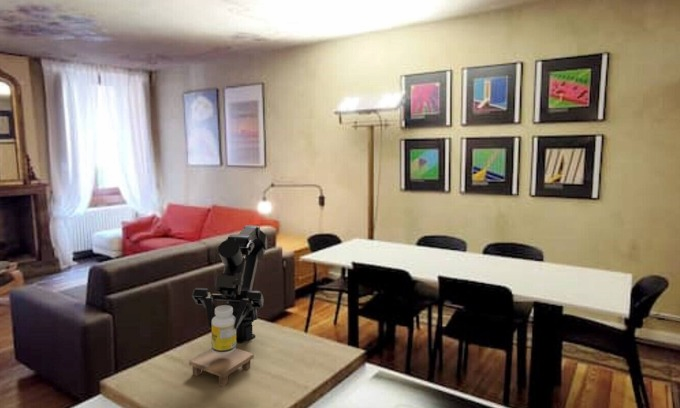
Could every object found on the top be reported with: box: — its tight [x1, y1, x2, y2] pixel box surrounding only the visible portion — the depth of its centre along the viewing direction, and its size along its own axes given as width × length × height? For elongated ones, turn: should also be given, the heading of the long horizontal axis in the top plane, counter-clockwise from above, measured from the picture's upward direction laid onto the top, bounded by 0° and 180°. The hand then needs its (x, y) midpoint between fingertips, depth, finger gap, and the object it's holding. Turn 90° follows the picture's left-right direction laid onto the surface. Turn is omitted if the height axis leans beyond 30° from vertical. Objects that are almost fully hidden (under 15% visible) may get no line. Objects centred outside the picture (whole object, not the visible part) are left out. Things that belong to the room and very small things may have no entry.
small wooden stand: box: [188, 347, 255, 387], centre depth 122 cm, size 12×12×4 cm
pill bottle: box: [211, 304, 237, 354], centre depth 120 cm, size 6×6×12 cm
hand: (222, 328), depth 119 cm, fingers closed on pill bottle, 6 cm apart
